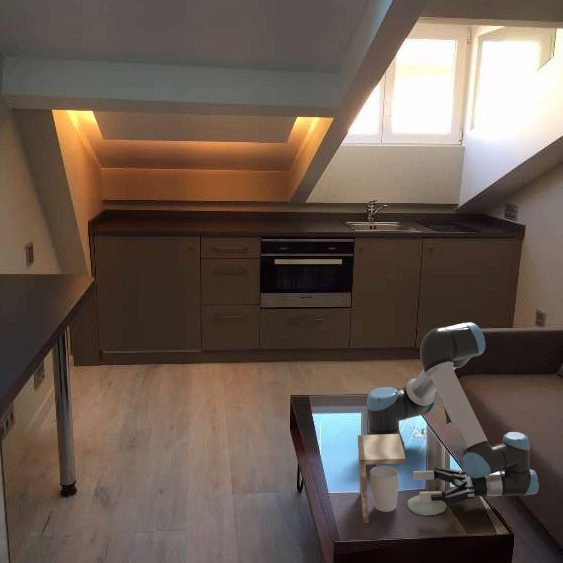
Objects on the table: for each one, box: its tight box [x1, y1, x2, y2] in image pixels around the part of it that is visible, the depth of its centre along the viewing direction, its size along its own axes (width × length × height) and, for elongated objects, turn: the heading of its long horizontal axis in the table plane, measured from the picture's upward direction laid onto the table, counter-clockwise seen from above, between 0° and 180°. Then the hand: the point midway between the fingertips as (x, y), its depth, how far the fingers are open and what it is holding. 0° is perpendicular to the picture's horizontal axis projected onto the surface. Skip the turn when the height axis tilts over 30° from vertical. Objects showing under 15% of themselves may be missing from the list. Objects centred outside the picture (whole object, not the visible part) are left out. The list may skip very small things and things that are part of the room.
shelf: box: [357, 434, 407, 524], centre depth 197 cm, size 14×18×20 cm
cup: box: [369, 464, 400, 513], centre depth 197 cm, size 9×9×12 cm
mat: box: [407, 494, 447, 517], centre depth 197 cm, size 12×12×1 cm
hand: (416, 485), depth 196 cm, fingers open, 13 cm apart
